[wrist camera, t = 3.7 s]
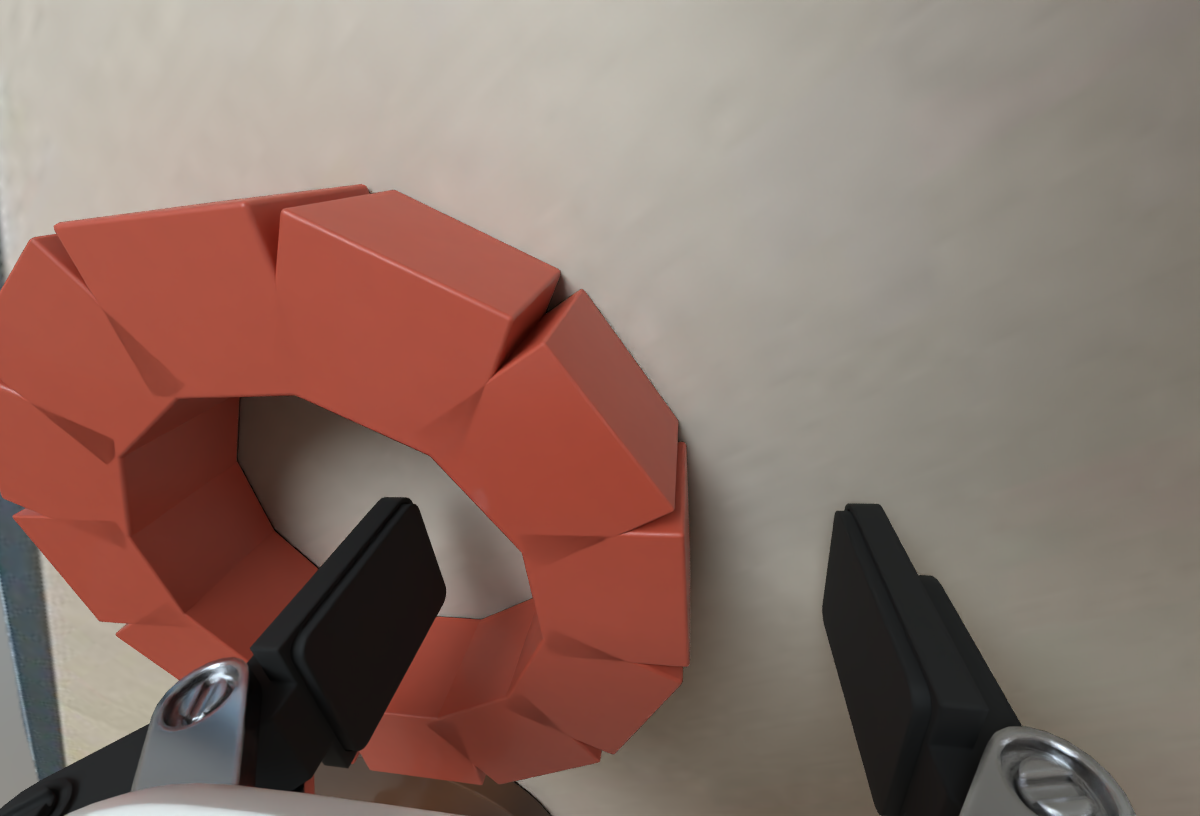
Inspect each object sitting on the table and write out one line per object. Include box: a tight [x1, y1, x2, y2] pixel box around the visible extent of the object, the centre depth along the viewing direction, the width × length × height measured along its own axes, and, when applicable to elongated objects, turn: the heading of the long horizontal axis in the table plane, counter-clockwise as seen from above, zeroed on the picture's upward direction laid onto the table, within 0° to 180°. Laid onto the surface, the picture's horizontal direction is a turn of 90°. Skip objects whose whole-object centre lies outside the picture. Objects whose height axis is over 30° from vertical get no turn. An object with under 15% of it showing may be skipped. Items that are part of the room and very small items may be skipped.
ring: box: [0, 184, 690, 785], centre depth 12 cm, size 15×15×3 cm
